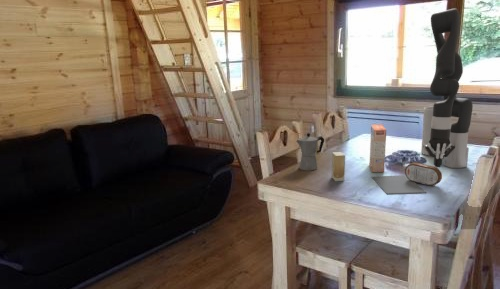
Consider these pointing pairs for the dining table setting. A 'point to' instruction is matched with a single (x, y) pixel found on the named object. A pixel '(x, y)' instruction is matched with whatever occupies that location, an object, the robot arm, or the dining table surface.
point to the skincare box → (338, 166)
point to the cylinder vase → (427, 128)
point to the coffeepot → (309, 151)
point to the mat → (397, 185)
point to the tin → (423, 174)
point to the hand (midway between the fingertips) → (437, 166)
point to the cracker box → (377, 148)
